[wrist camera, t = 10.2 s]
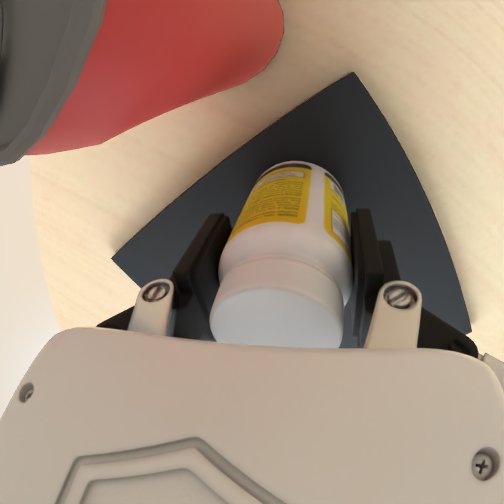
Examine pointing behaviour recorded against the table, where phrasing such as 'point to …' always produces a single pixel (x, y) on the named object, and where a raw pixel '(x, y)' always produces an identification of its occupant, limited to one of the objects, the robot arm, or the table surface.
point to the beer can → (119, 64)
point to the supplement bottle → (286, 263)
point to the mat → (350, 180)
